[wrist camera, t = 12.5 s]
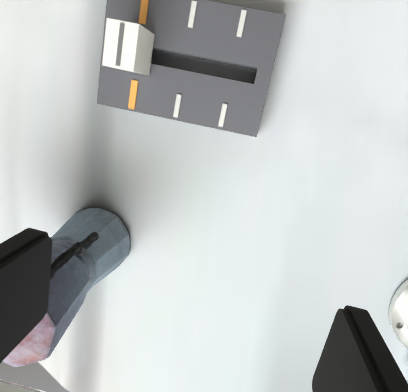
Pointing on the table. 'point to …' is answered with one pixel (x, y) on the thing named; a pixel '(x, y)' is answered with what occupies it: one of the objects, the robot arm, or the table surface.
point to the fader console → (203, 49)
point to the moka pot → (74, 276)
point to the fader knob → (127, 46)
